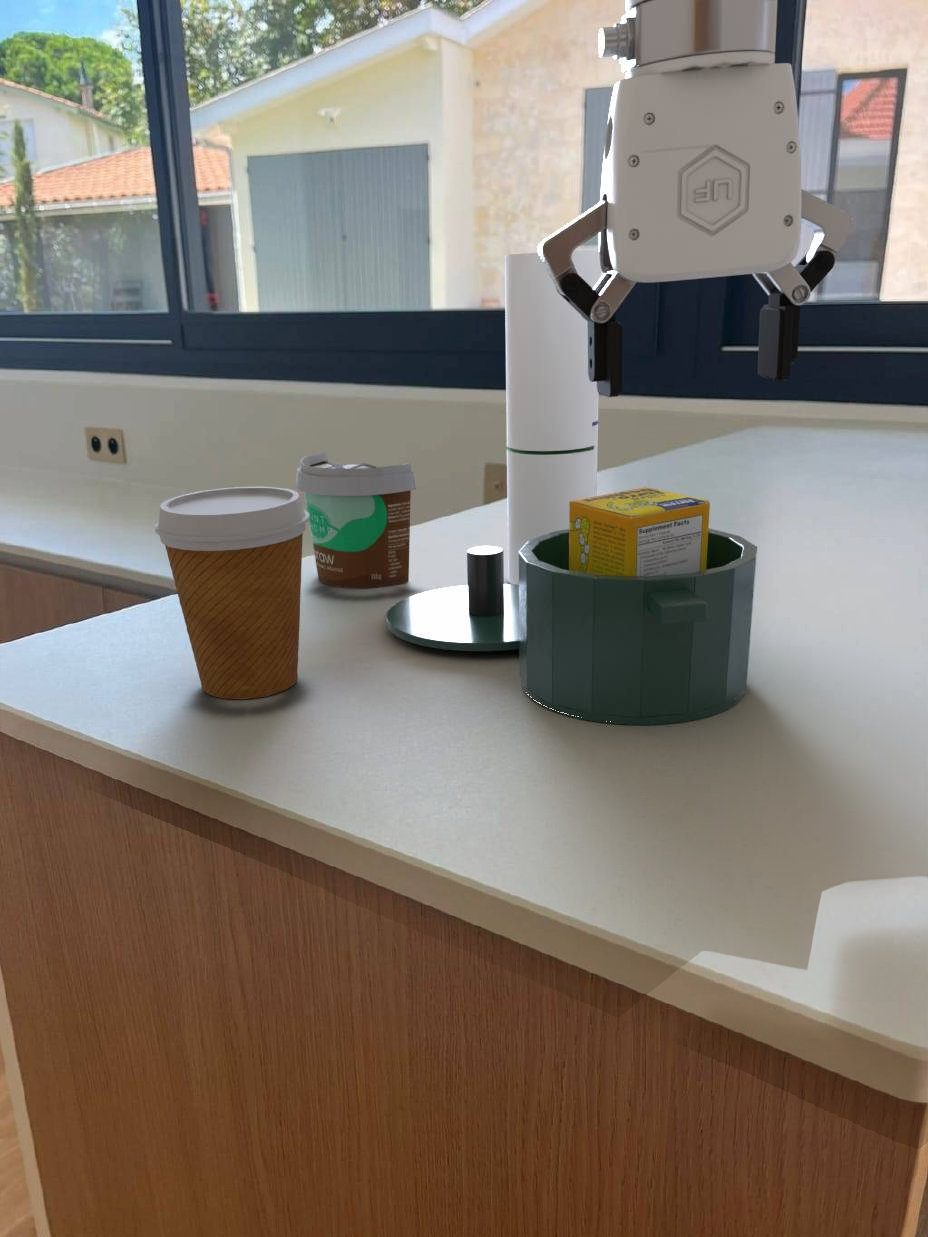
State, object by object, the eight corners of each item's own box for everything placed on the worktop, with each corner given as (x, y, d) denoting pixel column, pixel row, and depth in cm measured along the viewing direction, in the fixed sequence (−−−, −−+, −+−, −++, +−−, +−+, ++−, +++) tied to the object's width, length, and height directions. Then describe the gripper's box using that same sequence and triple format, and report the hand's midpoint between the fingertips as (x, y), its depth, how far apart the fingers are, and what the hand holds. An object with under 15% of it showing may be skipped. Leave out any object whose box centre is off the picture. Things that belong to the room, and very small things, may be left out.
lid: (561, 592, 88) (561, 521, 86) (612, 650, 75) (614, 567, 73) (378, 606, 87) (374, 535, 85) (397, 667, 74) (393, 584, 72)
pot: (691, 629, 78) (697, 508, 75) (801, 734, 60) (816, 582, 57) (499, 642, 77) (497, 522, 74) (554, 752, 60) (554, 601, 57)
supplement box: (638, 652, 72) (644, 484, 68) (703, 678, 68) (714, 499, 63) (564, 671, 70) (566, 498, 66) (626, 699, 65) (632, 514, 61)
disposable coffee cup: (352, 677, 72) (339, 494, 68) (236, 721, 66) (213, 523, 62) (261, 649, 79) (244, 479, 74) (148, 687, 73) (121, 505, 68)
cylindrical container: (604, 570, 94) (612, 248, 84) (581, 593, 88) (587, 249, 78) (523, 565, 96) (522, 253, 87) (496, 587, 90) (491, 255, 81)
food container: (275, 575, 98) (264, 461, 94) (330, 561, 101) (322, 450, 97) (363, 601, 89) (355, 475, 85) (420, 584, 92) (415, 463, 89)
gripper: (549, 45, 54) (557, 408, 60) (898, 16, 54) (868, 379, 61) (521, 70, 61) (531, 393, 67) (831, 44, 61) (810, 367, 68)
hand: (691, 386), depth 64 cm, fingers open, 9 cm apart
